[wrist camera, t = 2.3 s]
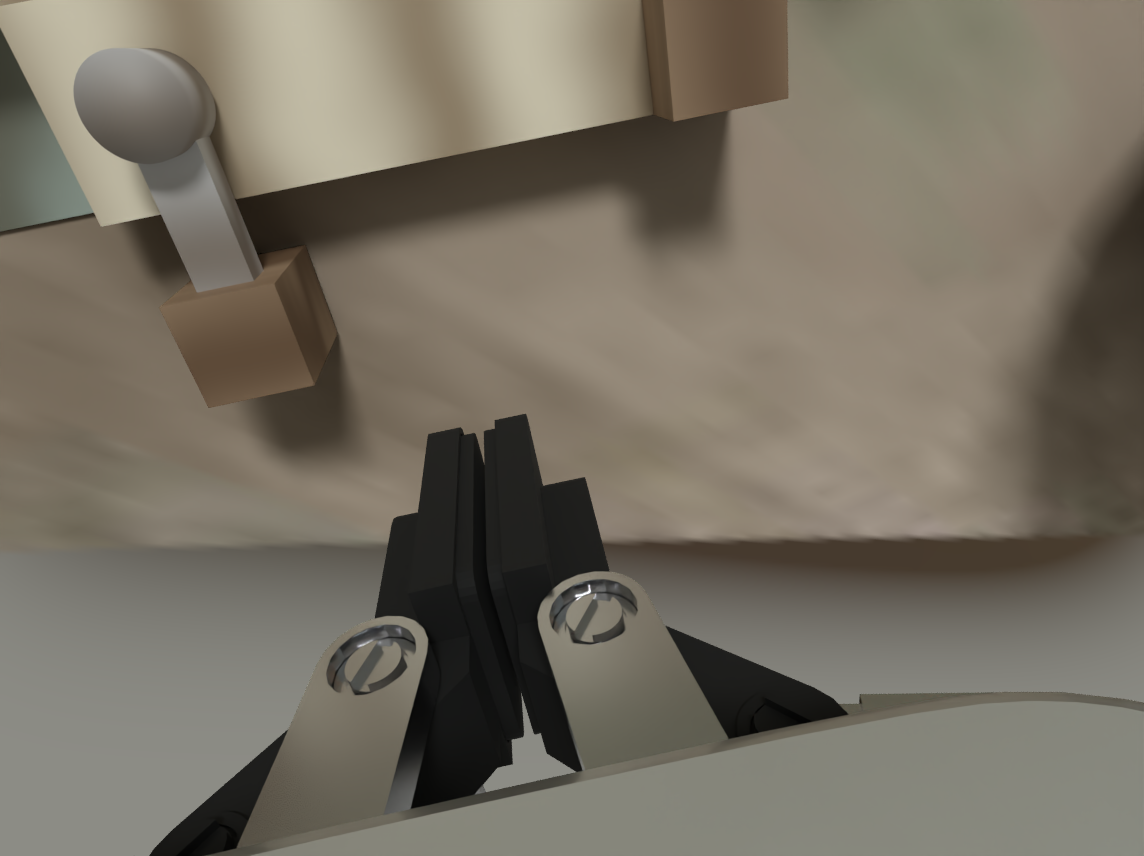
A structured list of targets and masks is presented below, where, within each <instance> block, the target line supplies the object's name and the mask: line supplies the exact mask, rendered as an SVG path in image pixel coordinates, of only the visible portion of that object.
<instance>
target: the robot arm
mask: <svg viewBox="0 0 1144 856" xmlns="http://www.w3.org/2000/svg"><path fill="white" fill-rule="evenodd" d="M484 459H485V465H484V462H483V458H482V454H481V451H480V447H479V444H478V440H477V437H476V434H475V433H472V434H467V435H464V433H463V430H462V429H461V427H460V428H455V429H451V430H446V431H441V432H436V433H431V434H428V439H427V447H426V454H425V462H424V470H423V478H422V486H421V493H420V501H419V509H418V513H413V514H408V515H403V516H399V517H396V518H394V519H393V522H392V526H391V532H390V537H389V543H388V548H387V554H386V559H385V565H384V570H383V576H382V581H381V587H380V592H379V598H378V603H377V609H376V614H375V619H372V620H368V621H366V622H364V623H362V624H359V625H357V626H355V627H353V628H351V629H350V630H348V631H347V632H345V633H344V634H342V635H341V636H340V637H338V638H337V639H336V640H335V641H334V642H333V643H332V644H331V645H330V646H329V647H328V648H327V649H326V650H325V652H324V653H323V655H322V657H321V659H320V660H319V662H318V663H317V665H316V668H315V670H314V672H313V674H312V677H311V679H310V682H309V684H308V686H307V688H306V690H305V693H304V695H303V697H302V700H301V702H300V704H299V706H298V709H297V711H296V713H295V715H294V718H293V720H292V722H291V725H290V727H289V729H288V730H287V731H286V732H285V733H283V734H282V735H281V736H280V737H279V738H278V739H276V740H275V741H274V742H273V743H272V744H271V745H270V746H268V748H266V749H265V750H264V751H263V752H261V753H260V754H259V755H258V756H257V757H256V758H255V759H254V760H252V761H251V762H250V763H249V764H248V765H247V766H245V767H244V768H243V769H242V770H241V771H240V772H238V773H237V774H236V775H235V776H234V777H233V778H232V779H230V780H229V781H228V782H227V783H226V784H225V785H224V786H222V787H221V788H220V789H219V790H218V791H217V792H215V793H214V794H213V795H212V796H211V797H210V798H209V799H207V800H206V801H205V802H204V803H203V804H202V805H201V806H199V807H198V808H197V809H196V810H195V811H194V812H193V813H191V814H190V815H189V816H188V817H187V818H186V819H184V820H183V821H182V822H181V823H180V824H179V825H178V826H176V827H175V828H174V829H173V830H172V831H171V832H170V833H169V834H168V835H167V836H166V837H165V838H164V839H163V840H162V841H161V842H160V843H159V844H158V845H157V846H156V847H155V848H154V850H153V851H152V853H151V854H150V856H1144V703H1143V702H1137V701H1132V700H1126V699H1118V698H1110V697H1101V696H1091V695H1083V694H1074V693H1065V692H995V693H994V692H991V693H919V694H918V693H916V694H860V697H859V704H838V703H837V702H836V701H835V700H834V699H833V698H831V697H830V696H828V695H826V694H824V693H822V692H821V691H819V690H817V689H815V688H814V687H811V686H809V685H806V684H804V683H802V682H799V681H797V680H794V679H792V678H789V677H787V676H784V675H782V674H780V673H778V672H775V671H773V670H770V669H768V668H766V667H763V666H761V665H758V664H756V663H754V662H751V661H749V660H746V659H744V658H742V657H739V656H737V655H734V654H732V653H729V652H727V651H725V650H722V649H720V648H718V647H715V646H713V645H710V644H708V643H706V642H703V641H701V640H699V639H696V638H694V637H691V636H689V635H686V634H684V633H682V632H679V631H677V630H674V629H672V628H670V627H667V626H665V625H664V623H663V621H662V619H661V618H660V616H659V614H658V612H657V610H656V609H655V607H654V605H653V603H652V602H651V600H650V598H649V596H648V594H647V593H646V591H644V589H643V588H642V587H641V586H640V584H639V583H637V582H636V581H634V580H633V579H631V578H629V577H627V576H626V575H622V574H618V573H614V572H610V571H609V567H608V564H607V560H606V556H605V552H604V548H603V544H602V540H601V537H600V533H599V529H598V525H597V521H596V517H595V513H594V510H593V506H592V502H591V498H590V494H589V490H588V487H587V483H586V479H585V477H583V478H578V479H573V480H569V481H564V482H559V483H555V484H550V485H545V486H543V484H542V479H541V475H540V471H539V466H538V462H537V458H536V453H535V449H534V445H533V440H532V436H531V431H530V427H529V423H528V419H527V415H526V414H522V415H518V416H513V417H508V418H503V419H499V420H495V429H491V430H486V431H484ZM521 693H522V696H523V699H524V703H525V706H526V709H527V713H528V716H529V719H530V722H531V726H532V729H533V732H534V734H539V733H541V735H542V739H543V742H544V745H545V749H546V752H547V754H549V755H550V756H552V757H554V758H555V759H557V760H559V761H560V762H562V763H563V764H565V765H566V766H568V767H570V768H571V769H573V770H574V771H576V772H575V773H571V774H566V775H562V776H557V777H553V778H548V779H544V780H540V781H536V782H531V783H526V784H521V785H517V786H512V787H508V788H503V789H499V790H494V791H490V792H486V791H485V789H484V786H483V784H484V783H485V782H486V780H487V779H488V778H489V777H490V776H491V775H492V773H493V772H494V771H495V770H496V769H497V768H498V767H502V766H506V765H511V764H513V761H512V742H511V740H512V739H517V738H521V737H523V736H524V726H523V712H522V698H521Z"/></svg>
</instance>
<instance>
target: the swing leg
mask: <svg viewBox="0 0 1144 856" xmlns="http://www.w3.org/2000/svg"><path fill="white" fill-rule="evenodd" d="M73 91H74V101H75V106H76V109H77V112H78V115H79V117H80V119H81V121H82V123H83V125H84V126H85V128H86V129H87V131H88V132H89V133H90V135H91V136H92V137H93V138H94V139H95V140H96V141H97V142H98V143H99V144H100V145H101V146H102V147H104V148H105V149H106V150H108V151H109V152H111V153H112V154H114V155H116V156H118V157H120V158H122V159H124V160H127V161H130V162H134V163H138V165H139V168H140V170H141V172H142V174H143V176H144V178H145V181H146V183H147V185H148V187H149V189H150V192H151V194H152V196H153V198H154V200H155V202H156V205H157V207H158V209H159V211H160V213H161V215H162V218H163V220H164V222H165V224H166V226H167V228H168V231H169V233H170V235H171V237H172V239H173V242H174V244H175V246H176V248H177V250H178V252H179V255H180V257H181V259H182V261H183V263H184V265H185V268H186V270H187V272H188V274H189V276H190V278H191V281H190V282H189V283H187V284H186V285H185V286H184V287H183V288H182V289H180V290H179V291H178V292H177V293H176V294H174V295H173V296H172V297H171V298H170V299H169V300H167V301H166V302H165V303H164V304H163V305H162V306H160V307H159V309H160V311H161V313H162V315H163V317H164V319H165V321H166V323H167V325H168V327H169V329H170V331H171V333H172V335H173V337H174V339H175V341H176V343H177V345H178V347H179V349H180V351H181V353H182V355H183V357H184V359H185V361H186V363H187V365H188V367H189V369H190V371H191V373H192V375H193V377H194V379H195V381H196V383H197V385H198V387H199V389H200V391H201V393H202V396H203V398H204V400H205V402H206V404H207V406H208V408H211V407H216V406H220V405H225V404H230V403H234V402H239V401H244V400H248V399H253V398H258V397H263V396H267V395H272V394H277V393H281V392H286V391H291V390H295V389H300V388H305V387H309V386H314V385H315V383H316V381H317V379H318V376H319V374H320V372H321V370H322V367H323V365H324V363H325V361H326V358H327V356H328V354H329V351H330V349H331V347H332V345H333V342H334V340H335V338H336V336H337V331H336V328H335V325H334V322H333V320H332V317H331V314H330V311H329V309H328V306H327V303H326V300H325V298H324V295H323V292H322V289H321V287H320V284H319V281H318V278H317V276H316V273H315V270H314V268H313V265H312V262H311V259H310V257H309V254H308V251H307V248H306V246H305V245H302V246H298V247H293V248H288V249H283V250H278V251H273V252H268V253H264V254H259V255H257V253H256V250H255V248H254V245H253V243H252V240H251V238H250V235H249V233H248V231H247V228H246V226H245V223H244V221H243V218H242V216H241V213H240V211H239V208H238V206H237V203H236V201H235V198H234V196H233V193H232V191H231V188H230V186H229V183H228V181H227V178H226V176H225V173H224V171H223V168H222V166H221V164H220V161H219V159H218V156H217V154H216V151H215V149H214V146H213V144H212V141H211V139H210V135H211V133H212V131H213V128H214V125H215V120H216V109H215V103H214V99H213V96H212V93H211V91H210V88H209V86H208V85H207V83H206V81H205V80H204V78H203V77H202V76H201V74H200V73H199V72H198V71H197V70H196V69H195V68H194V67H193V66H192V65H191V64H190V63H188V62H187V61H186V60H184V59H183V58H181V57H179V56H178V55H176V54H173V53H171V52H169V51H165V50H162V49H155V48H111V49H105V50H101V51H98V52H96V53H94V54H92V55H91V56H89V57H88V58H87V59H86V60H85V61H84V62H83V63H82V65H81V66H80V67H79V69H78V71H77V74H76V77H75V80H74V88H73Z"/></svg>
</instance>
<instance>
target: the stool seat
mask: <svg viewBox="0 0 1144 856" xmlns="http://www.w3.org/2000/svg"><path fill="white" fill-rule="evenodd" d="M111 48H155V49H162V50H165V51H169V52H171V53H173V54H176V55H178V56H179V57H181V58H183V59H184V60H186V61H187V62H188V63H190V64H191V65H192V66H193V67H194V68H195V69H196V70H197V71H198V72H199V73H200V74H201V76H202V77H203V78H204V80H205V81H206V83H207V85H208V86H209V88H210V91H211V93H212V96H213V99H214V103H215V109H216V120H215V125H214V128H213V131H212V133H211V135H210V139H211V141H212V144H213V146H214V149H215V151H216V154H217V156H218V159H219V161H220V164H221V166H222V168H223V171H224V173H225V176H226V178H227V181H228V183H229V186H230V188H231V191H232V193H233V196H234V198H235V199H240V198H245V197H250V196H255V195H260V194H265V193H270V192H275V191H279V190H284V189H289V188H294V187H299V186H304V185H309V184H314V183H319V182H324V181H329V180H334V179H339V178H344V177H349V176H353V175H358V174H363V173H368V172H373V171H378V170H383V169H388V168H393V167H398V166H403V165H408V164H413V163H418V162H422V161H427V160H432V159H437V158H442V157H447V156H452V155H457V154H462V153H467V152H472V151H477V150H482V149H487V148H491V147H496V146H501V145H506V144H511V143H516V142H521V141H526V140H531V139H536V138H541V137H546V136H551V135H556V134H561V133H565V132H570V131H575V130H580V129H585V128H590V127H595V126H600V125H605V124H610V123H615V122H620V121H625V120H630V119H634V118H639V117H644V116H649V115H656V116H659V117H662V118H665V119H668V120H671V121H679V120H684V119H689V118H694V117H699V116H704V115H709V114H714V113H719V112H723V111H728V110H733V109H738V108H743V107H748V106H753V105H758V104H763V103H768V102H773V101H777V100H782V99H787V98H788V32H787V0H0V232H1V231H6V230H11V229H16V228H20V227H25V226H30V225H35V224H40V223H45V222H50V221H55V220H60V219H65V218H70V217H75V216H80V215H85V214H90V213H94V214H95V216H96V218H97V220H98V222H99V224H100V226H101V227H102V226H107V225H112V224H117V223H122V222H127V221H132V220H136V219H141V218H146V217H151V216H156V215H161V213H160V211H159V209H158V207H157V205H156V202H155V200H154V198H153V196H152V194H151V192H150V189H149V187H148V185H147V183H146V181H145V178H144V176H143V174H142V172H141V170H140V168H139V165H138V163H134V162H130V161H127V160H124V159H122V158H120V157H118V156H116V155H114V154H112V153H111V152H109V151H108V150H106V149H105V148H104V147H102V146H101V145H100V144H99V143H98V142H97V141H96V140H95V139H94V138H93V137H92V136H91V135H90V133H89V132H88V131H87V129H86V128H85V126H84V125H83V123H82V121H81V119H80V117H79V115H78V112H77V109H76V106H75V101H74V91H73V88H74V80H75V77H76V74H77V71H78V69H79V67H80V66H81V65H82V63H83V62H84V61H85V60H86V59H87V58H88V57H89V56H91V55H92V54H94V53H96V52H98V51H101V50H105V49H111Z"/></svg>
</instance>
